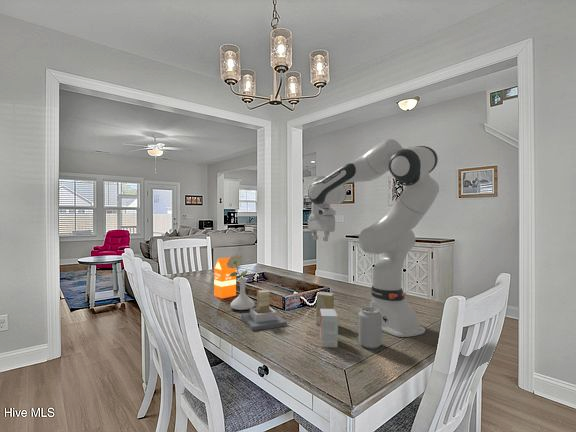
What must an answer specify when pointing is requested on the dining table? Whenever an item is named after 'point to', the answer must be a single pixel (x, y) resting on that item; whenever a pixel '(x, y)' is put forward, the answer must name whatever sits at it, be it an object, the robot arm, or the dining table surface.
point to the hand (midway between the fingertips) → (320, 240)
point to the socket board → (263, 319)
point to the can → (370, 327)
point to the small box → (328, 328)
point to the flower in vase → (242, 300)
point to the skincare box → (324, 303)
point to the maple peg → (263, 301)
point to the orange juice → (224, 279)
